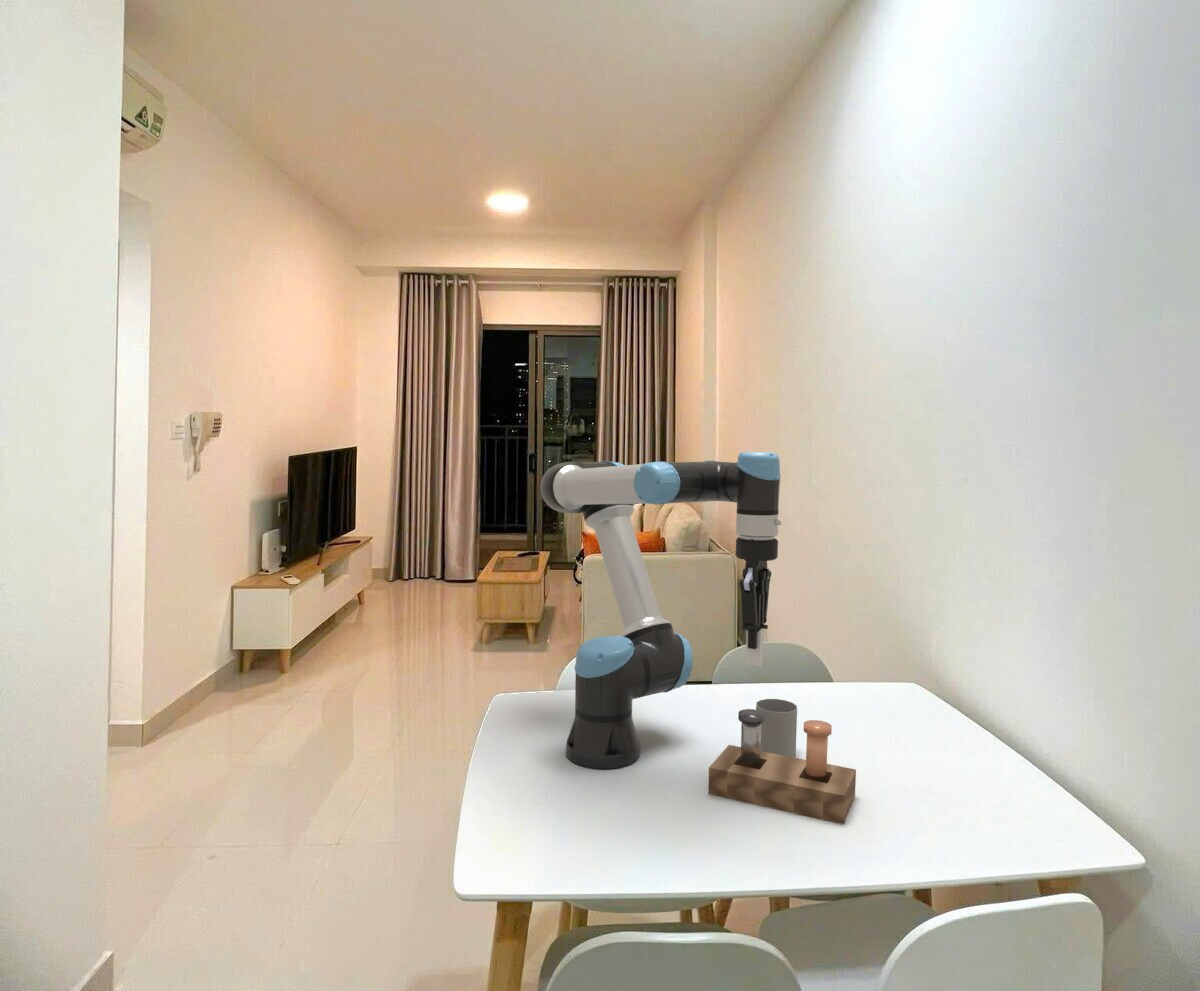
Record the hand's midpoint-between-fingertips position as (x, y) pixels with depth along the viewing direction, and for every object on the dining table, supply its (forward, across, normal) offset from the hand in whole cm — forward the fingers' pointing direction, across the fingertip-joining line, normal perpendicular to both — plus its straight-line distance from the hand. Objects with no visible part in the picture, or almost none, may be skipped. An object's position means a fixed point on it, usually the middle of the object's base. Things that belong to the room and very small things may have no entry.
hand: (753, 664), depth 144 cm
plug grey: (+18, 0, 0) cm, 18 cm away
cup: (+24, +19, 0) cm, 30 cm away
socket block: (+24, 0, -6) cm, 24 cm away
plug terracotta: (+18, 0, -12) cm, 21 cm away
